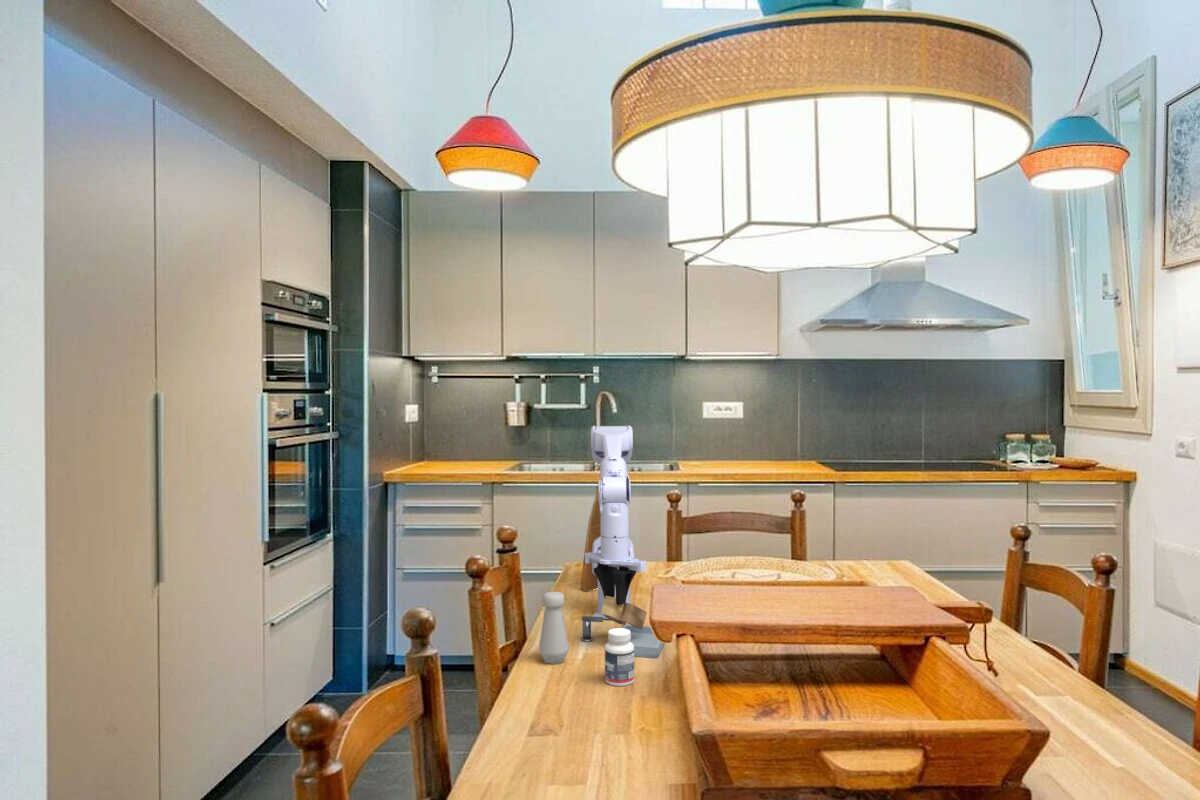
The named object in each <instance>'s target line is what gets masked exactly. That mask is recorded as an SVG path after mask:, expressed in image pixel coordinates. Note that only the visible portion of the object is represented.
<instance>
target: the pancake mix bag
mask: <svg viewBox="0 0 1200 800" xmlns="http://www.w3.org/2000/svg"><path fill="white" fill-rule="evenodd" d="M600 536H601V514H600V505H599V500H598V485H597V486H596V491H595V496H594V499H593V503H592V507H591V510H590V514H589V517H588V525H587V530H586V536H585V537H586V538H585V544H584V545H585V546H584V555H583V560H582V569H581V576H580V581H581V582H580V589H581V588H582V589H584V590H583V591H584V592H588V591H587V590H593V589H596V588H598V579H597V576H596V575H594V574H593V573H592V563H585V553H589V552H592V550H593V543H594V541H595V540H596V539H597V538H598V537H600ZM600 548H601V547H600ZM582 589H581V590H582Z"/></svg>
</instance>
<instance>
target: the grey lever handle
mask: <svg viewBox="0 0 1200 800" xmlns="http://www.w3.org/2000/svg"><path fill="white" fill-rule="evenodd" d="M592 622H594V623H603V622H604V619H603V617H595V616H591V615H583V616H581V623H582V636H581V637H580V641H581V642H587V643H588V641H590V642H593V641H594V637H593V636H592Z"/></svg>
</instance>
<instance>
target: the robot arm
mask: <svg viewBox="0 0 1200 800" xmlns="http://www.w3.org/2000/svg"><path fill="white" fill-rule="evenodd" d="M633 431H634V430H633V427H632V426H631V425H612V426H611V425H608V426H607V425H606V426H605V425H601V426H596V425H592V427H591V428H590V450H591V458H592V461H593V462H595V463H596V464H598V465H599V478H600V479H598V481H597V483H598V484H597V486H598V500H599V505H600V514H601V536H600V537H598V538H597V539H596V540H595V541H594V543H593V550H592V552H589V553H585V552H584V553H585V563H592V573H593V574H594V575H596V576H597V579H598V590H597V609H598V610H596V612H595V613H594V614H593V616H595V617H603V620H609V619H608V618H606V617H604V615H603V614H601V611H602V607H603V604H604V600H605V597H606V596H609V597H614V598H616V603H617V605H622V604H625V603H629V604H632V602H631V583H632V581H633V580H634V577H635V576H636V574H637V573H641V574H642V573H645V572H646V571H648V569H647V567H648V566H647V563H648V562H647V560H643V559H638V558H636V557H635V551H634V550H635V549H634V543H633V541H632V540H631V539H630V536H629V535H630V532H629V531H630V530H629V529H630V527H629V525H630V521H629V518H630V517H629V513H630V511H629V507H630V506H629V505H630V504H631V500H632V499H631V498H632V493H631V491H632V490H631V489H632V488H631V486H632V485H631V479H630V476H629V474H628V469H627V466H628V465H627V463H628V462H631V458H632V456H633V447H634V434H633ZM627 502H628V503H627ZM600 547H601V548H600Z"/></svg>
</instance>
